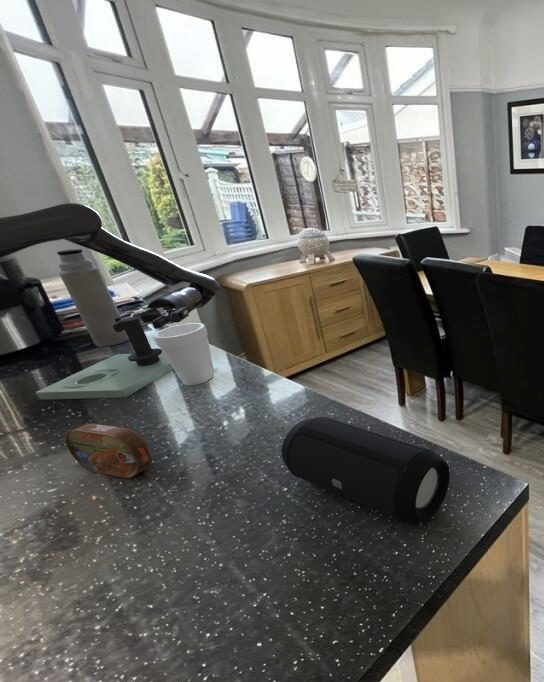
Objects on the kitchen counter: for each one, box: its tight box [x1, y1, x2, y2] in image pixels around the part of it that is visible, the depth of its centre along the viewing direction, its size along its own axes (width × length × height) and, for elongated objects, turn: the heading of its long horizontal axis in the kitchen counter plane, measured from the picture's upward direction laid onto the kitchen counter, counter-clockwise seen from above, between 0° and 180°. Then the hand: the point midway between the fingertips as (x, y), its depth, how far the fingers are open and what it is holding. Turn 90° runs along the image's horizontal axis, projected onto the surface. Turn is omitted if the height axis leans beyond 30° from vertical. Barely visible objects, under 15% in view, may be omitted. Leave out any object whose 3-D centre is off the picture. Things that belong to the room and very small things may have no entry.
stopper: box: [121, 317, 163, 366], centre depth 99 cm, size 7×7×12 cm
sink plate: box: [35, 352, 174, 401], centre depth 98 cm, size 20×20×2 cm
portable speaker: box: [280, 416, 451, 523], centre depth 59 cm, size 26×10×10 cm, turn 65°
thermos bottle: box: [56, 248, 130, 348], centre depth 115 cm, size 8×8×28 cm
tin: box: [65, 423, 153, 479], centre depth 65 cm, size 15×3×8 cm, turn 76°
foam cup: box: [152, 322, 215, 386], centre depth 94 cm, size 10×9×13 cm
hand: (135, 326), depth 98 cm, fingers open, 8 cm apart
